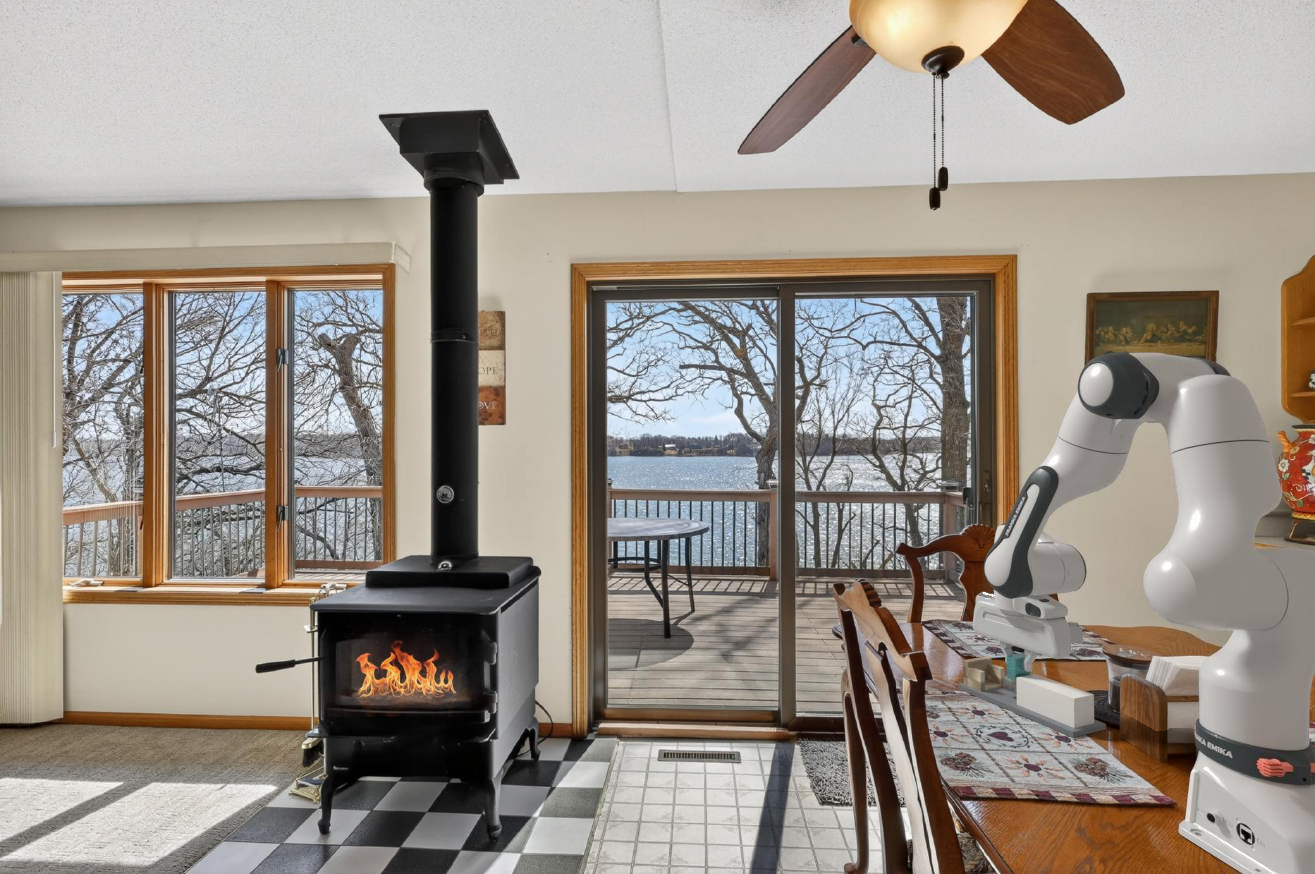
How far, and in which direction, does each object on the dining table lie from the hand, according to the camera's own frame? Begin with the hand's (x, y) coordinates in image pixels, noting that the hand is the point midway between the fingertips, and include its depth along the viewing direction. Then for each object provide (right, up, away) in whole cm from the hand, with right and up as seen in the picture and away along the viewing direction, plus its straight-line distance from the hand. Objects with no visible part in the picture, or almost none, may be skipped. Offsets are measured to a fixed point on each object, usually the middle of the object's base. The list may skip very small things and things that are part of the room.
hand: (1018, 667), depth 135 cm
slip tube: (+2, -5, -5) cm, 8 cm away
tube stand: (+1, -8, -2) cm, 8 cm away
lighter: (+37, -8, +44) cm, 58 cm away
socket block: (-3, -7, +8) cm, 11 cm away
